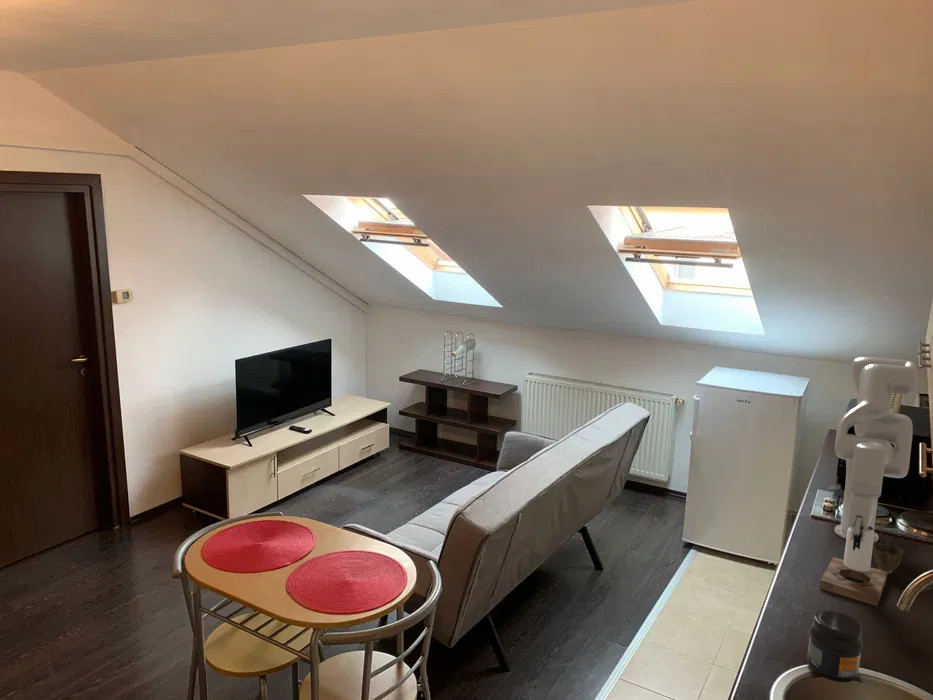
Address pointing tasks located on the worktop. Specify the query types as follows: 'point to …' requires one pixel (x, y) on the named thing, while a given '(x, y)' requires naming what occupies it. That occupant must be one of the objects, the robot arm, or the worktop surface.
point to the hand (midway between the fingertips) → (857, 548)
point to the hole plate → (859, 591)
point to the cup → (887, 556)
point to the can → (859, 551)
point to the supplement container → (835, 646)
